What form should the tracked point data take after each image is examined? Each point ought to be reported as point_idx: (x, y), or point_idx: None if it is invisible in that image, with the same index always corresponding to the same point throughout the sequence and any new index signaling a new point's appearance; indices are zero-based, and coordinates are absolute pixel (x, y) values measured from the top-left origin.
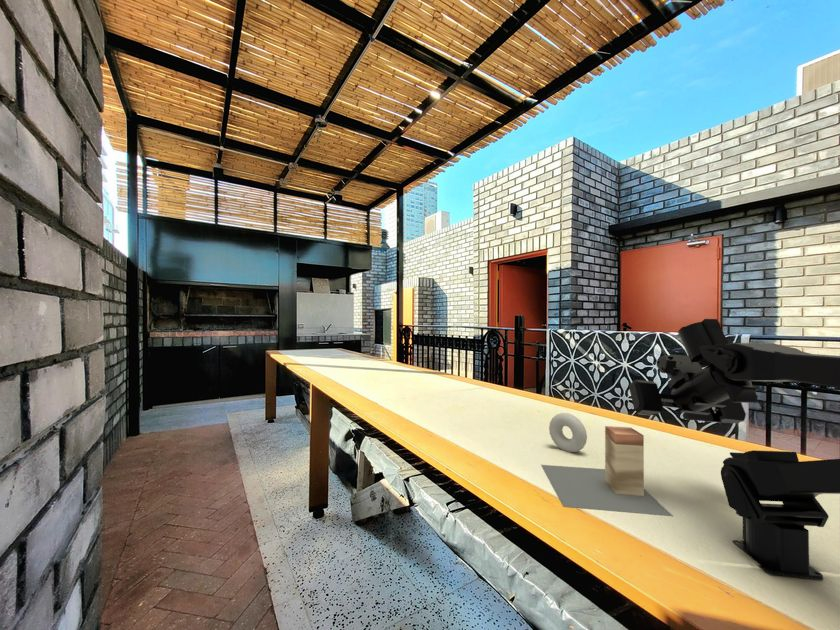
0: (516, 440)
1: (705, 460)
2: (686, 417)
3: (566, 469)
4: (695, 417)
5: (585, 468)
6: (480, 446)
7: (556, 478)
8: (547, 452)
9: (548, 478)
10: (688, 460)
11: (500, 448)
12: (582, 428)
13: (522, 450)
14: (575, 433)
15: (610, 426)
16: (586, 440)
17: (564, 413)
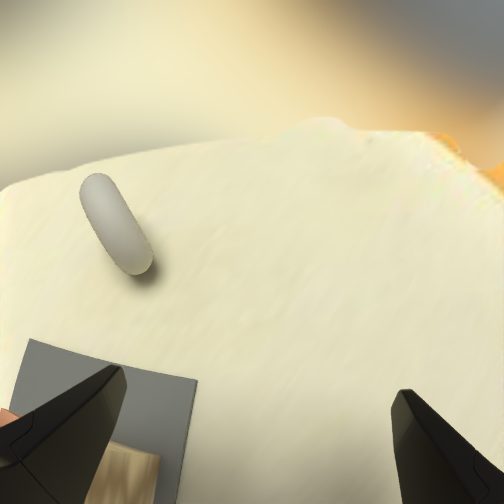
0: (73, 209)
1: (466, 276)
2: (396, 428)
3: (59, 366)
4: (409, 492)
5: (102, 364)
6: (3, 246)
7: (22, 404)
8: (89, 264)
9: (11, 401)
10: (430, 281)
11: (23, 252)
12: (116, 240)
13: (50, 258)
14: (106, 250)
15: (12, 415)
16: (143, 261)
17: (88, 183)
